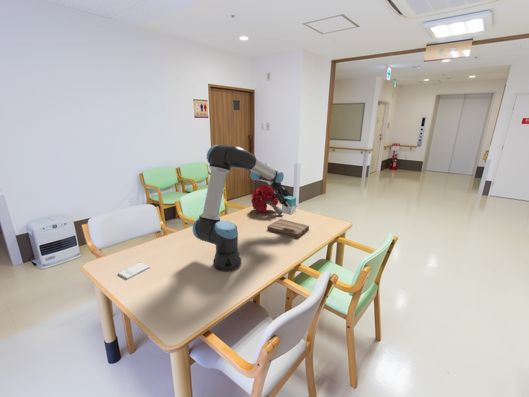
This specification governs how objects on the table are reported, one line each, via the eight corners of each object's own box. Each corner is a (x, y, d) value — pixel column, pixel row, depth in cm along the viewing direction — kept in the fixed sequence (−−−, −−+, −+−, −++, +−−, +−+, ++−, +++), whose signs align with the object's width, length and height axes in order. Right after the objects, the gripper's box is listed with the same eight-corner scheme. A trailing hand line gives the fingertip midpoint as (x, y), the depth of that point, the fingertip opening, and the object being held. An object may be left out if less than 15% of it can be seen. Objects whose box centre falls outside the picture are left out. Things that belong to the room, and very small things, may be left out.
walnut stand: (297, 238, 176) (297, 234, 175) (267, 230, 189) (267, 226, 188) (308, 229, 190) (309, 225, 189) (280, 222, 203) (280, 218, 202)
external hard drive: (149, 269, 140) (127, 280, 130) (140, 264, 144) (118, 275, 134) (149, 266, 139) (127, 277, 129) (140, 261, 143) (117, 272, 133)
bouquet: (282, 217, 232) (258, 196, 241) (294, 197, 218) (268, 176, 227) (268, 226, 215) (243, 203, 224) (281, 206, 202) (253, 182, 211)
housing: (290, 214, 181) (291, 199, 178) (281, 212, 185) (282, 197, 181) (295, 212, 186) (296, 197, 183) (286, 210, 190) (287, 195, 187)
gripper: (277, 183, 197) (296, 207, 193) (262, 188, 181) (282, 215, 177) (284, 177, 192) (303, 202, 188) (269, 182, 176) (290, 209, 172)
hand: (293, 208), depth 183 cm, fingers closed on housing, 7 cm apart
